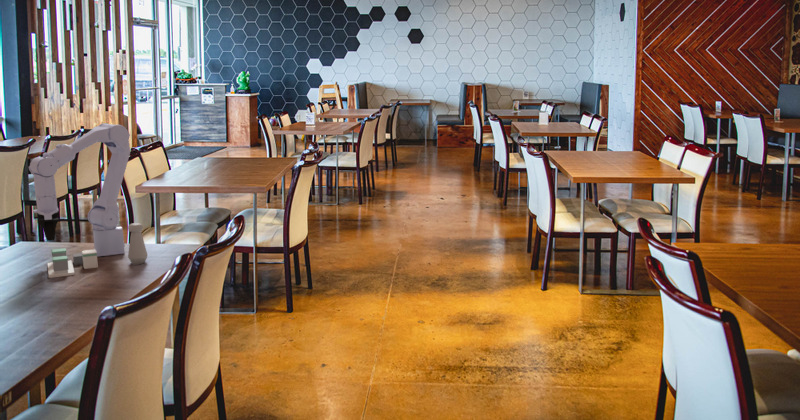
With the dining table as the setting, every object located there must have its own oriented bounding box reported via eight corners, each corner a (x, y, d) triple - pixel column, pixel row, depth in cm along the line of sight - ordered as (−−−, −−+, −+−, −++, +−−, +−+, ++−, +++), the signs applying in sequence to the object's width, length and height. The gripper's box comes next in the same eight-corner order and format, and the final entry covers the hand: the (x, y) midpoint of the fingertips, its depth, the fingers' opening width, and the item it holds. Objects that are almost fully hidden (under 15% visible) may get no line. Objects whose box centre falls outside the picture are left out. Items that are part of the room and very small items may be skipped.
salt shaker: (150, 260, 221) (148, 222, 218) (142, 265, 215) (139, 226, 213) (133, 260, 221) (130, 221, 219) (125, 264, 216) (122, 225, 213)
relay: (93, 260, 222) (92, 251, 221) (94, 263, 218) (93, 254, 218) (73, 262, 219) (72, 253, 218) (74, 265, 215) (73, 256, 215)
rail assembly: (71, 262, 218) (70, 247, 217) (74, 274, 205) (73, 258, 204) (47, 265, 215) (46, 249, 214) (48, 277, 202) (47, 261, 201)
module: (96, 264, 217) (95, 249, 216) (98, 267, 213) (96, 252, 212) (83, 265, 215) (81, 250, 214) (84, 269, 211) (82, 253, 210)
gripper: (31, 192, 215) (36, 233, 218) (31, 200, 202) (36, 244, 205) (56, 190, 218) (60, 231, 221) (57, 198, 206) (61, 241, 208)
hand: (50, 237), depth 213 cm, fingers open, 7 cm apart
